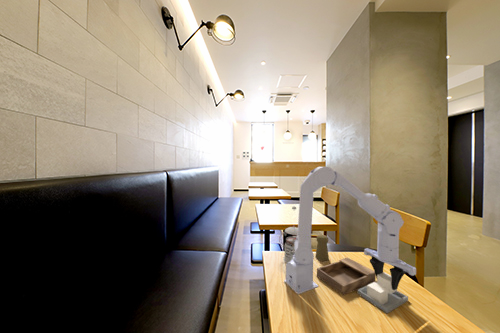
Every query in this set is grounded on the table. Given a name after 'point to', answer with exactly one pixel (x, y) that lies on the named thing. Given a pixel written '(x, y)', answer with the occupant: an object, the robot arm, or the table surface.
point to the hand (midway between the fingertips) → (387, 284)
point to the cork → (322, 248)
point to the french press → (289, 240)
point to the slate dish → (393, 302)
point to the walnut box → (346, 275)
